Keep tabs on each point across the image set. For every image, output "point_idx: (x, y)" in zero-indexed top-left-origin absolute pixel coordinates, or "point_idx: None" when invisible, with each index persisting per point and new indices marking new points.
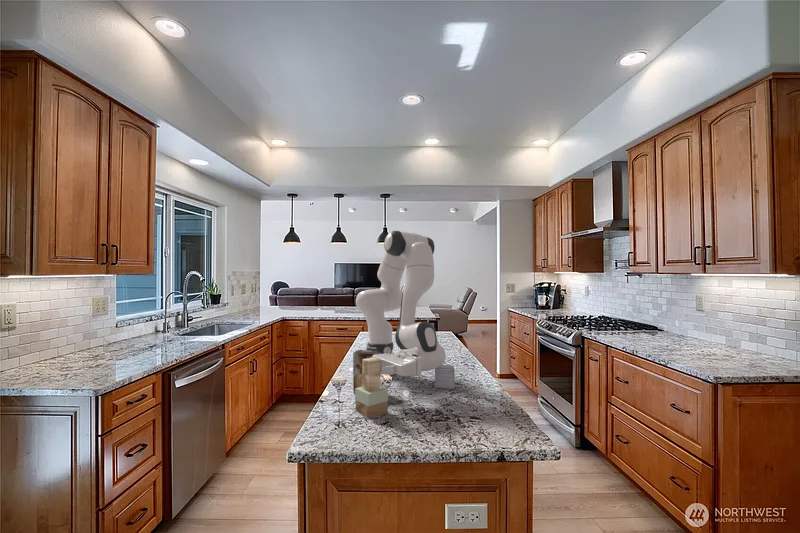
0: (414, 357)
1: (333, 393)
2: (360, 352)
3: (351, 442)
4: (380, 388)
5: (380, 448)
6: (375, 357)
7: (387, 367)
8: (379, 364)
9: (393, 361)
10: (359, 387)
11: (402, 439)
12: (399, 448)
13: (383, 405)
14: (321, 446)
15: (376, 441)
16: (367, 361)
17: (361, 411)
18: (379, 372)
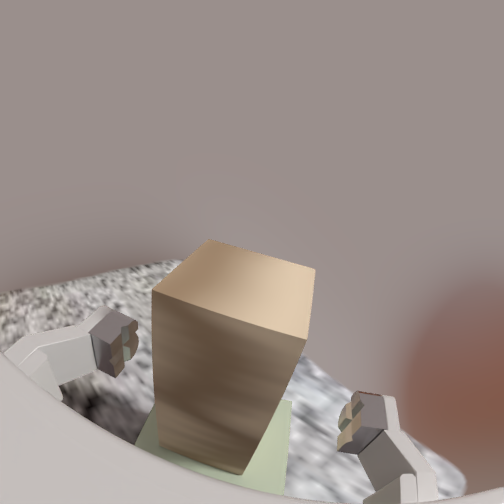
0: None
1: (459, 481)
2: None
3: (120, 298)
4: None
5: (54, 294)
6: (453, 498)
7: (71, 329)
8: (157, 319)
9: (34, 423)
10: (287, 420)
11: (17, 331)
12: (20, 301)
13: None
14: (164, 277)
15: (70, 312)
16: (229, 245)
17: None
18: (157, 374)
